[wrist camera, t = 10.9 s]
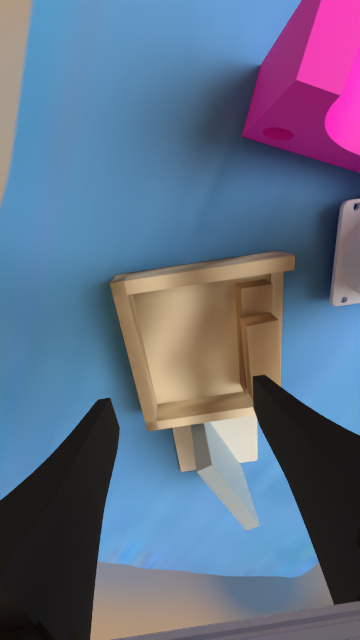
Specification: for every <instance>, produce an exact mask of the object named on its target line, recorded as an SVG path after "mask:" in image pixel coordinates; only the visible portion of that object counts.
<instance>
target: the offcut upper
mask: <svg viewBox="0 0 360 640" xmlns="http://www.w3.org/2000/svg"><path fill="white" fill-rule="evenodd" d="M240 325H241V335H242V345H243V355H244V365H245V375H246V385H247V390H248V392H249V394H250V396H251V398H252V400H253V376H258V375H264V374H265V375H266V376H267V377H269V378H270V379H271V380H273V381H274V382H275V383H276V384H278V385H279V386H280V387H281V374H280V341H279V320H278V319H277V318H276V317H275V316H274V315H273V314H271V313H270V312H268V313H263V314H258V315H253V316H248V317H243V318H240Z"/></svg>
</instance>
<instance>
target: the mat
mask: <svg viewBox="0 0 360 640" xmlns="http://www.w3.org/2000/svg"><path fill="white" fill-rule="evenodd" d="M210 423H211V424H212V426H213V427H214V428H215V430H216V431H217V433H218V434H219V435H220V437H221V438H222V439H223V441H224V442H225V444H226V445H227V446H228V448H229V449H230V451H231V452H232V453H233V455H234V456H235V458H236V459H237V460H238V462H239V463H243V462H249V461H256V460H258V449H257V417H256V415H252V416H246V417H239V418H232V419H226V420H219V421H213V422H210ZM172 429H173V434H174V439H175V444H176V449H177V454H178V459H179V464H180V469H181V472H184V471H191V470H196V464H195V456H194V448H193V440H192V433H191V425H186V426H180V427H173V428H172Z"/></svg>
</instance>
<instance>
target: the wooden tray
mask: <svg viewBox="0 0 360 640" xmlns="http://www.w3.org/2000/svg"><path fill="white" fill-rule="evenodd" d="M294 269H295V255H291V254H288V253H284V252H281V251H272V252H265V253H259V254H252V255H245V256H238V257H232V258H225V259H218V260H212V261H205V262H198V263H191V264H185V265H178V266H171V267H165V268H158V269H151V270H144V271H138V272H131V273H124V274H118V275H116V276H115V277H114V279H113V280H112V281H111V282H110V287H111V291H112V295H113V299H114V303H115V306H116V310H117V314H118V318H119V322H120V326H121V330H122V334H123V338H124V342H125V346H126V349H127V353H128V357H129V361H130V365H131V369H132V373H133V377H134V381H135V385H136V388H137V392H138V396H139V400H140V404H141V408H142V412H143V416H144V420H145V424H146V428H147V431H153V430H160V429H167V428H173V427H180V426H186V425H193V424H200V423H206V422H213V421H219V420H226V419H232V418H239V417H246V416H252V415H256V414H255V411H254V409H253V400H252V398H251V396H250V394H246V395H245V393H244V391H243V389H242V387H241V385H240V375H239V354H238V332H237V311H236V290H235V284H236V283H242V282H249V281H256V280H262V279H265V280H267V281H268V282H270V283H272V284H273V296H272V314H273V315H274V316H275V317H276V318H277V319H278V320H279V341H280V374H281V346H282V316H283V285H284V271H290V270H294Z"/></svg>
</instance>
